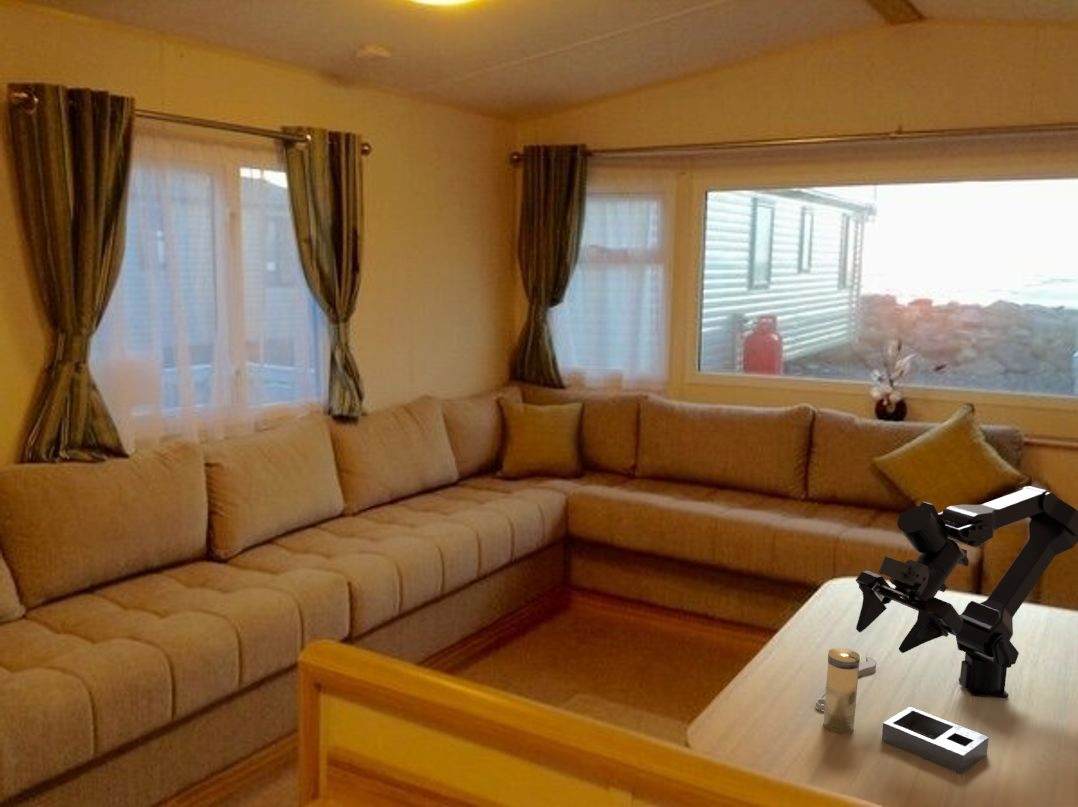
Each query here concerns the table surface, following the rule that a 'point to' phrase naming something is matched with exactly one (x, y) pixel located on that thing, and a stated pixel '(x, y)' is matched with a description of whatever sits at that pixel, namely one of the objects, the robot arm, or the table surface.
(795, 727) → the table surface
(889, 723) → the grey rectangular holder
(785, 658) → the table surface
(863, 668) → the adjustable wrench
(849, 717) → the gold tin can
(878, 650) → the table surface
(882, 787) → the table surface
